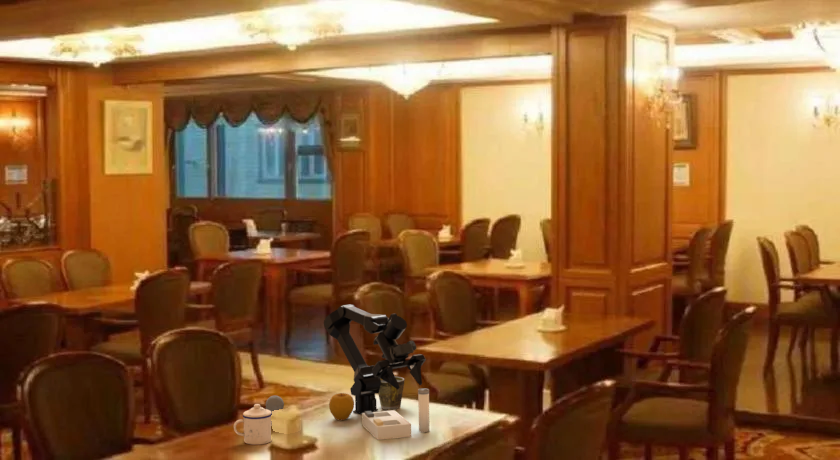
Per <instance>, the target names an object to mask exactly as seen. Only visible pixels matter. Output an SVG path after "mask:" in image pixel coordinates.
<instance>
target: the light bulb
mask: <svg viewBox="0 0 840 460" xmlns="http://www.w3.org/2000/svg"><path fill="white" fill-rule="evenodd" d="M284 406H285V402H284V400H283V398H282V397H281V396H278V395H271V396H269V397H268V398H267V399H266V401H265V409H267V410H270V411H271V412H272V411H274V410H279V409H284Z"/></svg>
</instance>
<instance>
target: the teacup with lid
mask: <svg viewBox="0 0 840 460" xmlns="http://www.w3.org/2000/svg"><path fill="white" fill-rule="evenodd" d="M271 415H272V412H271V411H270V410H267V409H266V408H264V407H262V406H261V404H259V403H255V404H254V405H253V407H251V408H249V409H248V410H245V411H244V412H243V413H242V417H243V419H242V418H241V419H237V420H236V421H234V423H233V431H234V432H235V433H236V434H237V435H238V436H242V437H243V441H244V443H246V444H248V445H255V446H258V445H259V446H260V445H265V444H268V443H270V442H271V441H272V440H271V426H273V425H272V421H271ZM240 423H243V432H239V431H238V430H237V425H238V424H240ZM270 440H271V441H270Z"/></svg>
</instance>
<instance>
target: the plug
mask: <svg viewBox="0 0 840 460" xmlns="http://www.w3.org/2000/svg"><path fill="white" fill-rule="evenodd" d="M417 395H418V397H417V398H418V399H417V400H418V406H417V407H418V432H420V433H429V432H430V389H429V388H425V387H424V388H418V389H417Z"/></svg>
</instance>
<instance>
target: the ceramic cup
mask: <svg viewBox="0 0 840 460" xmlns="http://www.w3.org/2000/svg"><path fill="white" fill-rule="evenodd" d="M394 376H395V375H394ZM395 378H396V380H397V382H398V384H399V387H400V388H399V389H396V388H395V387H393V386H392V385H390V384H389V383H388V382H386V381H384V380H383V379H381V378H380V379H381V385H380V390H379V393H377V394H378V399H379V405H380V407H381V409H383V410H387V409H393V410H397V408H398V409H400V408H401V405H402V397H403V392H404V386H405V378H404V377H401V376H395ZM399 407H400V408H399Z"/></svg>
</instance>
